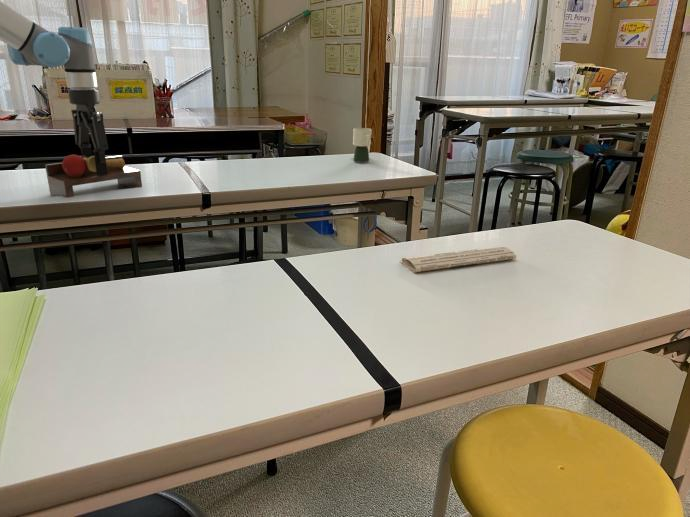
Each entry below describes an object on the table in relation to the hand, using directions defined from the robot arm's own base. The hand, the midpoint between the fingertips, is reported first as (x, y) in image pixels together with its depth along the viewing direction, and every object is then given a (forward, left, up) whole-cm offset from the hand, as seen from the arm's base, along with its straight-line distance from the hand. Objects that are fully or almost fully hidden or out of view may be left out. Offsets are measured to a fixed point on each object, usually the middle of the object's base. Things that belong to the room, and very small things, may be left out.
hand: (95, 172), depth 148 cm
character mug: (+98, +2, -6) cm, 98 cm away
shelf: (0, 0, -6) cm, 6 cm away
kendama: (0, 0, -1) cm, 1 cm away
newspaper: (+50, -95, -6) cm, 108 cm away
